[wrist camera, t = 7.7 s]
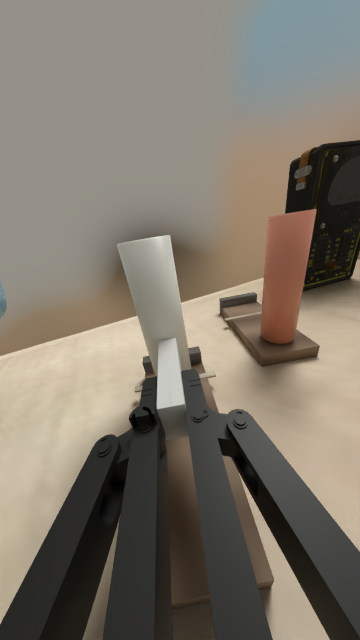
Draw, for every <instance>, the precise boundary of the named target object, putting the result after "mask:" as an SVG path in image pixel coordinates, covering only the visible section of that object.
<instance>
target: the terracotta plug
mask: <svg viewBox="0 0 360 640" xmlns="http://www.w3.org/2000/svg"><path fill="white" fill-rule="evenodd" d="M316 210H317V209H313V210H307V211H300V212H294V213H288V214H282V215H277V216H271V217H268V223H267V238H266V255H265V270H264V284H263V300H262V315H261V330H260V335H261V337H262V338H263V339H265V340H267V341H269V342H272V343H278V344H284V343H289V342H291V341H293V340H294V338H295V332H296V327H297V321H298V315H299V309H300V303H301V297H302V292H303V286H304V280H305V274H306V268H307V263H308V257H309V251H310V245H311V239H312V233H313V228H314V222H315V216H316Z"/></svg>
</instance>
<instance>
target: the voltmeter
mask: <svg viewBox="0 0 360 640" xmlns="http://www.w3.org/2000/svg"><path fill="white" fill-rule="evenodd" d="M313 209H317V210H316V216H315V222H314V228H313V233H312V239H311V245H310V251H309V257H308V263H307V268H306V274H305V280H304V286H303V290H307V289H311V288H314V287H318V286H322V285H326V284H329V283H333V282H337V281H341V280H344V279H348V278H350V277H351V276H352V275H353V271H354V268H355V265H356V261H357V257H358V254H359V251H360V140H357V141H348V142H338V143H328V144H323V145H320V146H319V147H315V148H312V149H310V150H308V151H306V152H304V153H303V154H302V155H301V157H300V158H298V159H295V160H293V161H292V162H291V165H290V171H289V181H288V190H287V201H286V210H285V214H288V213H294V212H300V211H307V210H313Z"/></svg>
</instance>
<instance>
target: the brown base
mask: <svg viewBox="0 0 360 640" xmlns="http://www.w3.org/2000/svg"><path fill="white" fill-rule="evenodd" d="M220 313H221V314H222V315H223V316H224V318H225V319H224V320H225V321H227V322H228V323H229V324H230V325H231V327H232V328H233V329H234V331H235V332H236V333H237V335H238V336H239V337H240V338H241V340H242V341H243V342H244V344H245V345H246V346H247V347H248V349H249V350H250V351H251V353H252V354H253V355H254V357H255V358H256V359H257V360H258V362H259V363H260V364H261V366H267V365H272V364H277V363H282V362H287V361H293V360H298V359H303V358H308V357H313V356H317V355H318V351H319V347H320V346H319V345H318V344H316V343H315V342H314V341H312V340H311V339H309V338H308V337H307V336H305V335H304V334H302V333H301V332H299V331H298V330H297V329H296V332H295V338H294V340H293V341H291V342H289V343H284V344H278V343H272V342H269V341H267V340H265V339H263V338H262V337H261V335H260V330H261V315H262V305H261V304H259V303H258V302H257V294H256V293H254V292H253V293H248V294H242V295H237V296H231V297H226V298H221V299H220Z"/></svg>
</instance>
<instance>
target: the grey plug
mask: <svg viewBox="0 0 360 640" xmlns="http://www.w3.org/2000/svg"><path fill="white" fill-rule="evenodd" d="M117 247H118V250H119V253H120V257H121V261H122V264H123V268H124V271H125V274H126V278H127V281H128V285H129V288H130V291H131V295H132V298H133V302H134V305H135V308H136V312H137V315H138V319H139V322H140V326H141V329H142V332H143V336H144V339H145V343H146V346H147V350H148V353H149V356H150V360H151V363H152V367H153V370H154V374H155V376H158V344H159V341H162V340H167V339H172V338H176V342H177V347H178V352H179V357H180V362H181V369H182V371H184V370H189V369H191V363H190V357H189V351H188V345H187V338H186V332H185V326H184V320H183V314H182V308H181V302H180V296H179V289H178V283H177V277H176V271H175V265H174V259H173V252H172V246H171V240H170V235H166V236H159V237H153V238H147V239H141V240H135V241H130V242H125V243H120V244H117Z"/></svg>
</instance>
